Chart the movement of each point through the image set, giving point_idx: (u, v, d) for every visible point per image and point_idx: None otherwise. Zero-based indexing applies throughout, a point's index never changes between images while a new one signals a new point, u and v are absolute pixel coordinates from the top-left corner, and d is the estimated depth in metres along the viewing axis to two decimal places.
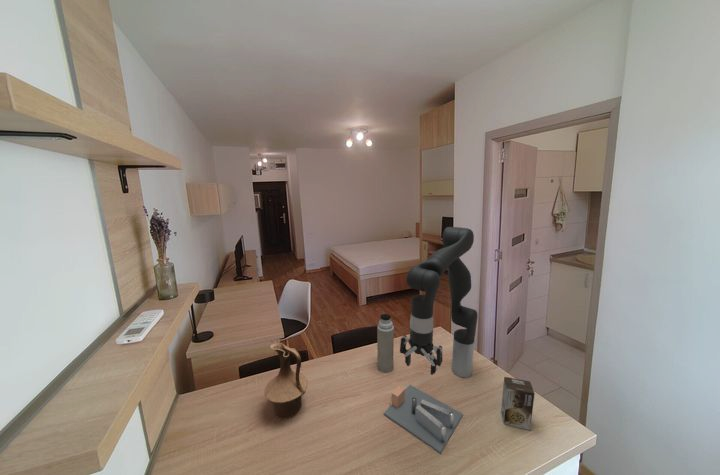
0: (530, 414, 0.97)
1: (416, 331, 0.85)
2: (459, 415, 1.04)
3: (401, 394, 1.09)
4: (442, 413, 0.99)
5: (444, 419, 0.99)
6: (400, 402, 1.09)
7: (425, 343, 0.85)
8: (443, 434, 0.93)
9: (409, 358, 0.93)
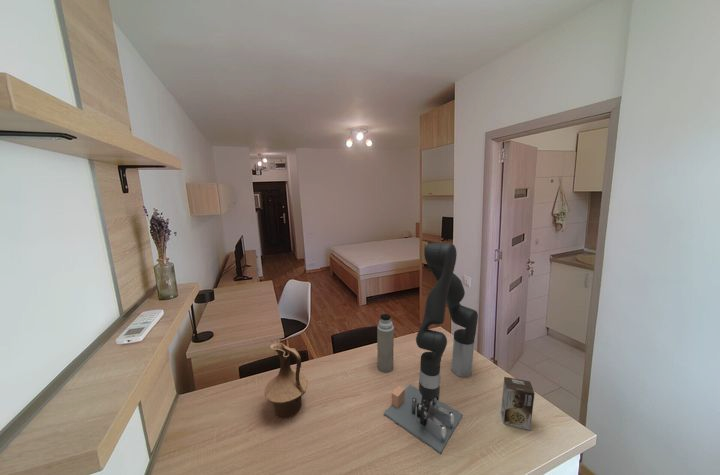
0: (530, 414, 0.97)
1: (438, 386, 0.95)
2: (459, 415, 1.04)
3: (401, 394, 1.09)
4: (442, 413, 0.99)
5: (444, 419, 0.99)
6: (400, 402, 1.09)
7: None
8: (443, 434, 0.93)
9: None
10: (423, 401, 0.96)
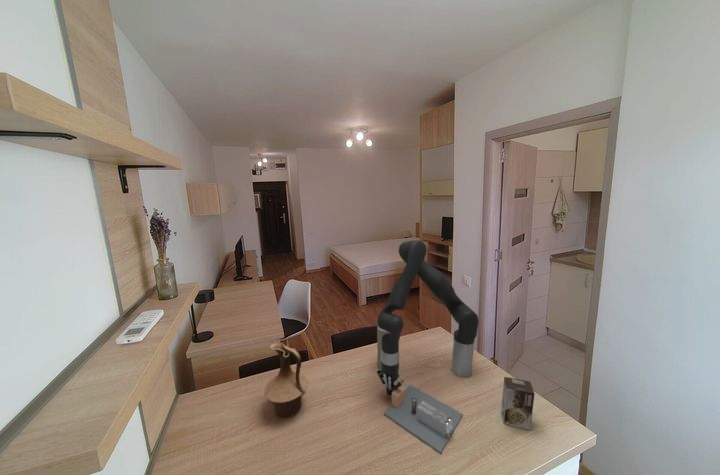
0: (530, 414, 0.97)
1: None
2: (459, 415, 1.04)
3: (401, 394, 1.09)
4: None
5: None
6: (400, 402, 1.09)
7: None
8: (448, 430, 0.94)
9: None
10: (398, 376, 1.08)
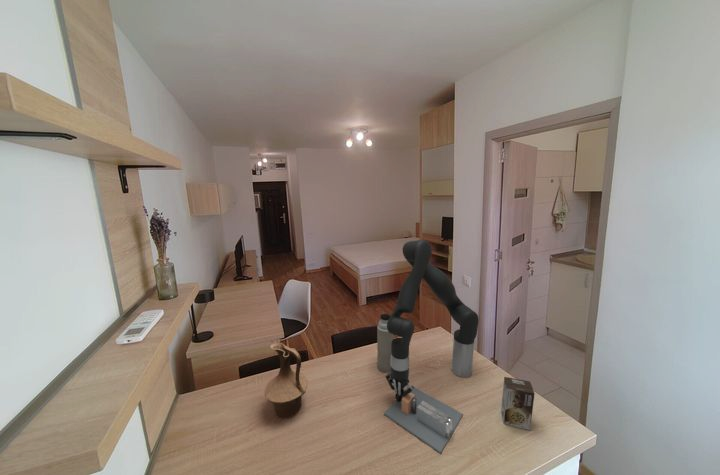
0: (530, 414, 0.97)
1: None
2: (459, 415, 1.04)
3: (411, 400, 1.06)
4: None
5: None
6: (410, 408, 1.06)
7: None
8: (448, 430, 0.94)
9: None
10: (408, 382, 1.05)
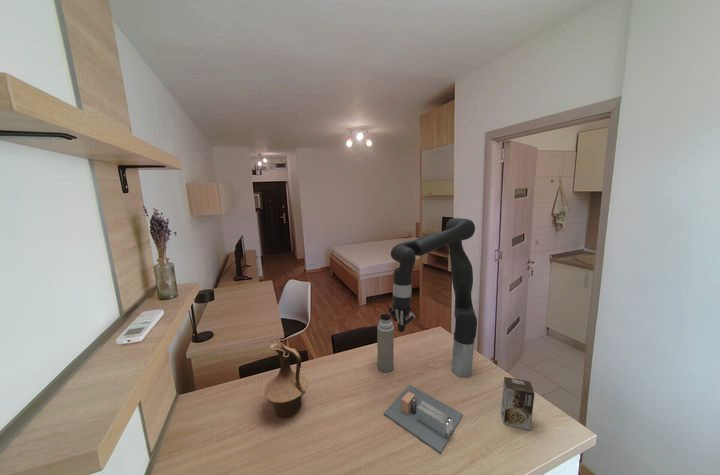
0: (530, 414, 0.97)
1: None
2: (459, 415, 1.04)
3: (411, 400, 1.06)
4: None
5: None
6: (410, 408, 1.06)
7: None
8: (448, 430, 0.94)
9: None
10: (410, 310, 1.07)
